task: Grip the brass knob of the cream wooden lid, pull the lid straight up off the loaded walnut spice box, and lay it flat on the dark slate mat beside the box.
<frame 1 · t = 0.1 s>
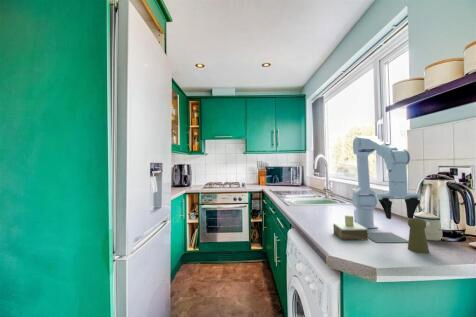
hand: (399, 218, 87), 10 cm above the worktop, tool pointing down, fingers open, 7 cm apart
spice box: (349, 236, 100), on the worktop
teacup with lid: (428, 238, 95), on the worktop
lid: (349, 228, 100), point 3 cm above the worktop, touching spice box
slate mat: (384, 237, 97), on the worktop
olive pepper mill: (418, 250, 83), on the worktop
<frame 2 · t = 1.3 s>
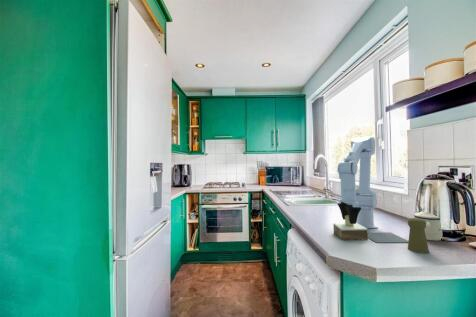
hand: (349, 221, 100), 6 cm above the worktop, tool pointing down, fingers open, 7 cm apart
nothing on the worktop moved.
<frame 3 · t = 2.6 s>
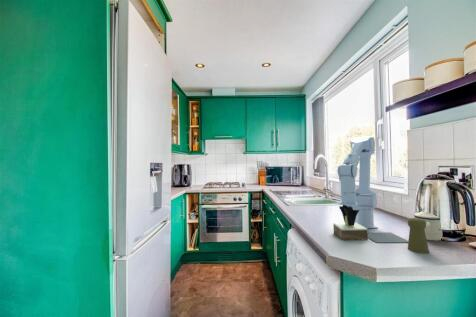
hand: (349, 224, 100), 5 cm above the worktop, tool pointing down, fingers closed on lid, 3 cm apart
lid: (349, 228, 100), point 3 cm above the worktop, touching gripper, spice box
everything else where it was.
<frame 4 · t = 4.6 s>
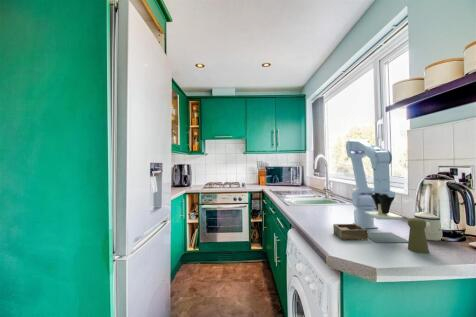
hand: (382, 212, 97), 10 cm above the worktop, tool pointing down, fingers closed on lid, 3 cm apart
lid: (382, 217, 97), point 8 cm above the worktop, touching gripper
everything else where it was.
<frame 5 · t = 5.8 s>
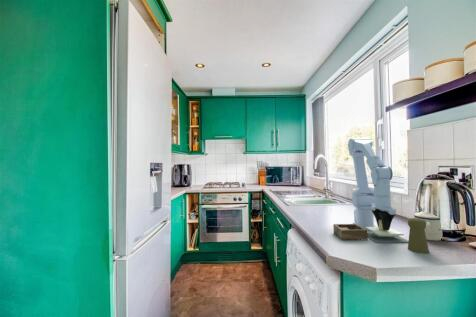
hand: (383, 228, 97), 4 cm above the worktop, tool pointing down, fingers closed on lid, 3 cm apart
lid: (383, 233, 97), point 2 cm above the worktop, touching gripper
everything else where it was.
when the fingers open (3 cm above the worktop, at t = 6.7 s): lid stays where it is, resting on slate mat.
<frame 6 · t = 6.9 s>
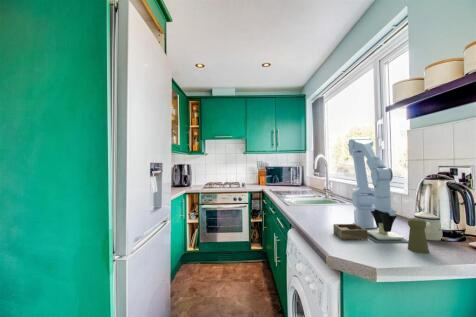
hand: (383, 229, 97), 3 cm above the worktop, tool pointing down, fingers open, 5 cm apart
lid: (383, 237, 97), resting on slate mat
everything else where it was.
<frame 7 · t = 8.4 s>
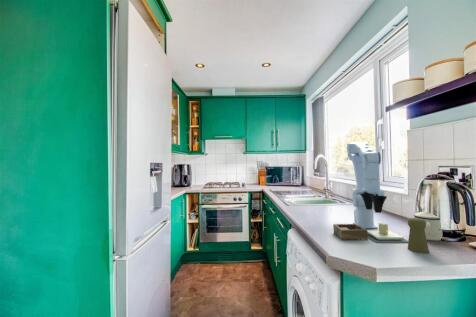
hand: (373, 210, 101), 10 cm above the worktop, tool pointing down, fingers open, 7 cm apart
nothing on the worktop moved.
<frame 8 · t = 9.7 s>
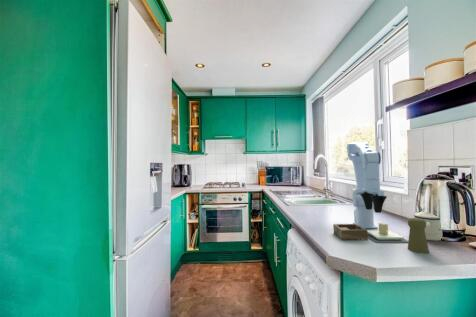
hand: (373, 210, 101), 10 cm above the worktop, tool pointing down, fingers open, 7 cm apart
nothing on the worktop moved.
at the end: lid 0.1 cm off-centre on the slate mat, point 0.3 cm above the slate mat's base; lid tilted 0°; the gripper is holding nothing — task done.
